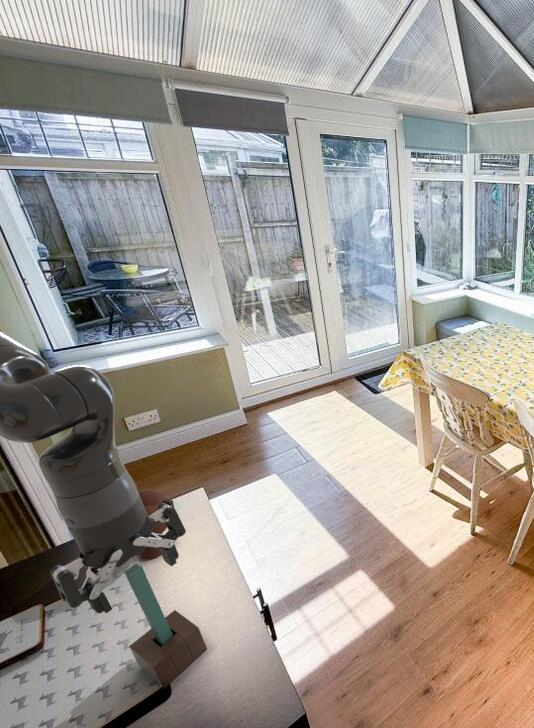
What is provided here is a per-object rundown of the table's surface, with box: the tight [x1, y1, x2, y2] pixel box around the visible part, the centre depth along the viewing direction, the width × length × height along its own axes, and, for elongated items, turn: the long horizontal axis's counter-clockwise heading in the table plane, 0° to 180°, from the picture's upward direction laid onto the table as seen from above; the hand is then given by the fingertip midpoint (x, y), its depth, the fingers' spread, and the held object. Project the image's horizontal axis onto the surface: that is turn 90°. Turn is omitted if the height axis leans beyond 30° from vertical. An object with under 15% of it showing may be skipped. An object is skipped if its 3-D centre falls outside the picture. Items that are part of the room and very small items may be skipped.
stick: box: [123, 563, 173, 647], centre depth 66 cm, size 2×2×22 cm
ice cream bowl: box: [138, 488, 175, 561], centre depth 87 cm, size 11×11×15 cm
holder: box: [128, 609, 208, 690], centre depth 70 cm, size 7×7×6 cm
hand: (140, 584), depth 63 cm, fingers open, 8 cm apart
